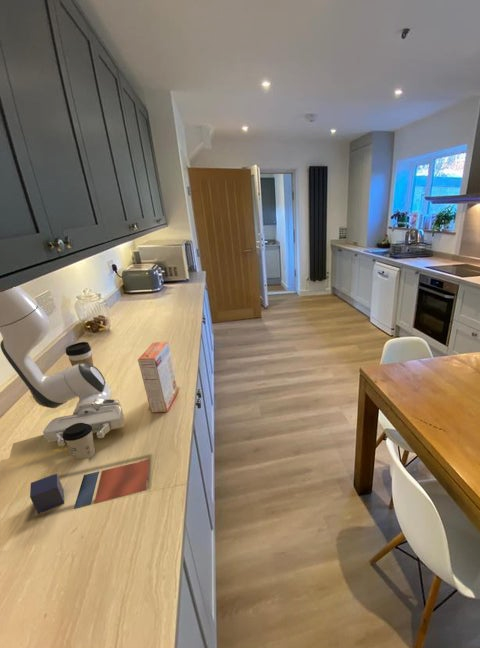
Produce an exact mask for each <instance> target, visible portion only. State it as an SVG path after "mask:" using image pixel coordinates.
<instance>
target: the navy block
mask: <svg viewBox="0 0 480 648" xmlns="http://www.w3.org/2000/svg"><path fill="white" fill-rule="evenodd" d="M29 491H30V492H29V498H30V500H31V502H32V504H33V506H34V508H35V511H36V512H37V515H39V514H42V513H45V512H47V511H49V510H52V509H54V508H56V507H59V506H61V505H64V504H65V492H64V491H65V490H64V487H63V484H62V482H61V480H60V477H59V475H58V473H54V474H51V475H48V476H45V477H43V478H41V479H38V480H35V481H32V482H30V489H29Z"/></svg>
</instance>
